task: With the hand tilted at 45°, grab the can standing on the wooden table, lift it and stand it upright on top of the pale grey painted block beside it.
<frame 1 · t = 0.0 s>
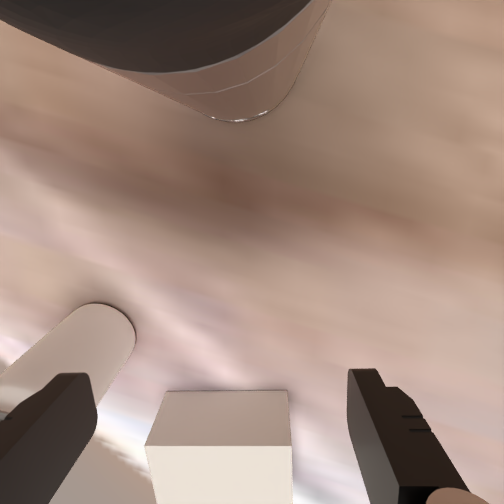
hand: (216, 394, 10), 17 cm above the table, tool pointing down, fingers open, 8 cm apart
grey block: (230, 436, 33), on the table
can: (104, 330, 30), on the table
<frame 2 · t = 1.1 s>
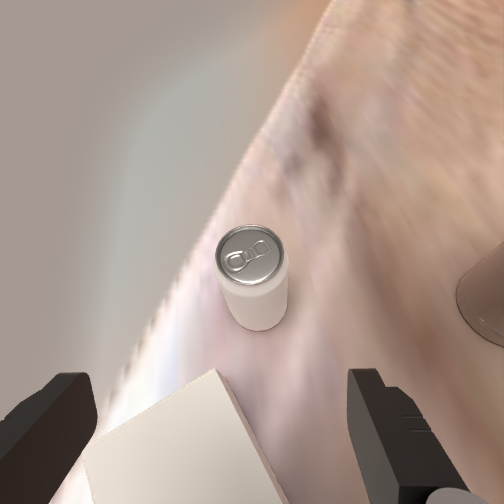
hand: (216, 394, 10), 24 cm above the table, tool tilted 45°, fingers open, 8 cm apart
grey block: (198, 475, 29), on the table
can: (258, 304, 36), on the table
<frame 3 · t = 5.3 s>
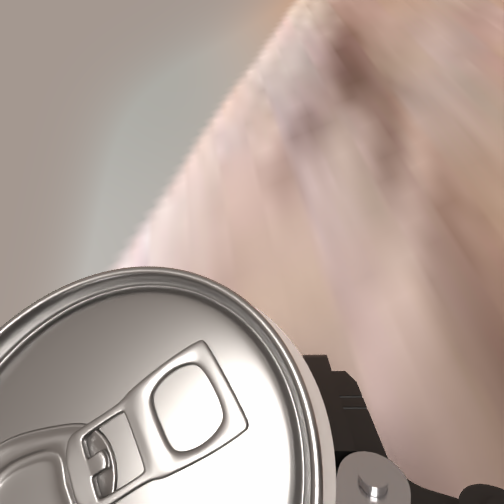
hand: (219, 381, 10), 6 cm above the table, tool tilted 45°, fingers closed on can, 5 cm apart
can: (229, 443, 15), on the table, touching gripper
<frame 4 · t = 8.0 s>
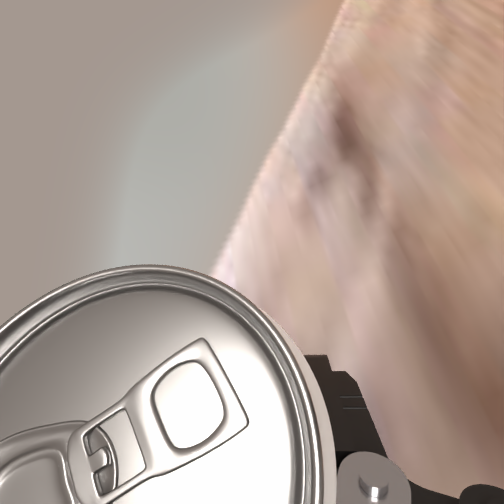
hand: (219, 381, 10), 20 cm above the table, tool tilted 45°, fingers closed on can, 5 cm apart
can: (229, 442, 15), point 15 cm above the table, touching gripper
when the fingers open (13 cm above the table, at t = 10.8 s): can moves 2 cm, resting on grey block.
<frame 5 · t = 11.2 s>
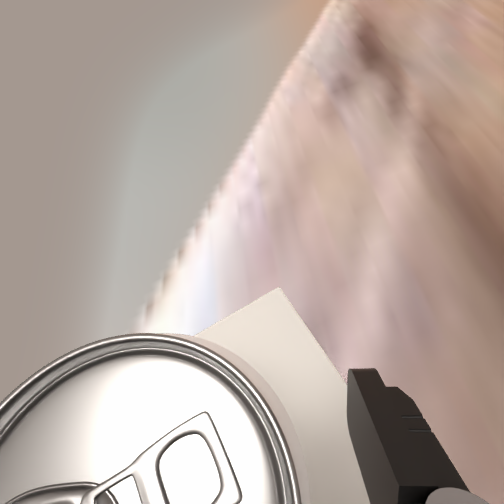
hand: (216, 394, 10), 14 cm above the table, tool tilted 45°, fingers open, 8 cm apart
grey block: (251, 439, 21), on the table
can: (206, 454, 15), point 6 cm above the table, touching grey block, gripper
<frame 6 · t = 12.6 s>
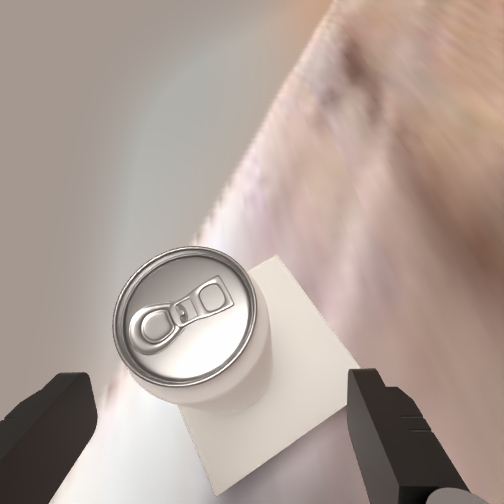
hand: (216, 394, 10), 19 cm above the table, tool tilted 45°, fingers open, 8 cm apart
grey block: (256, 369, 28), on the table
can: (228, 364, 23), point 6 cm above the table, touching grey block
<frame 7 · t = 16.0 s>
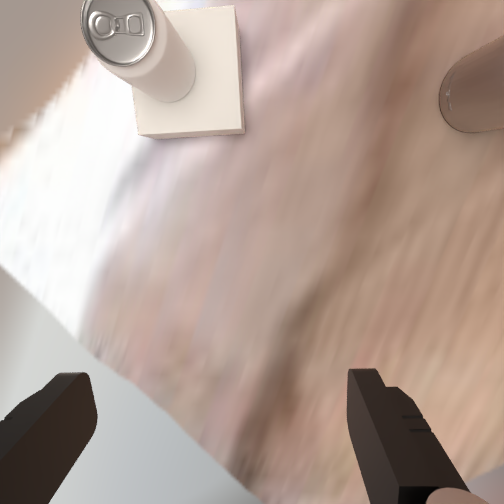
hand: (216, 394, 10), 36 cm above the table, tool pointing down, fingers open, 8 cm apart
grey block: (195, 86, 41), on the table
can: (167, 71, 35), point 6 cm above the table, touching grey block
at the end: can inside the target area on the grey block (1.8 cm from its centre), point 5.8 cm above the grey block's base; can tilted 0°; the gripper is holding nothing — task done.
